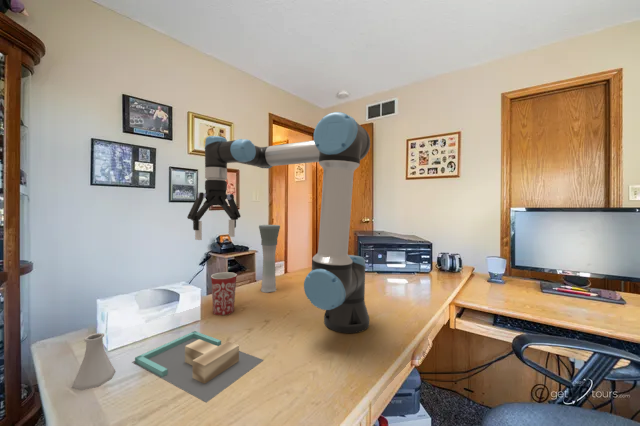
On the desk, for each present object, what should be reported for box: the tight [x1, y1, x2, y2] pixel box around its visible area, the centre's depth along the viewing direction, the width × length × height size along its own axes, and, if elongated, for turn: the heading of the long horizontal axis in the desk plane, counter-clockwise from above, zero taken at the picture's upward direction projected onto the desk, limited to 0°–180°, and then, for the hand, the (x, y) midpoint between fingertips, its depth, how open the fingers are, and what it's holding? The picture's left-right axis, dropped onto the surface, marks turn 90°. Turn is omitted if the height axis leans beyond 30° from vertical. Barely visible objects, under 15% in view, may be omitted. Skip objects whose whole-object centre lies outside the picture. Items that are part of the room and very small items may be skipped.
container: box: [258, 224, 281, 293], centre depth 125 cm, size 10×10×30 cm
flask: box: [71, 332, 117, 391], centre depth 59 cm, size 7×7×10 cm
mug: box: [210, 271, 238, 316], centre depth 101 cm, size 13×9×14 cm
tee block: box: [185, 339, 240, 384], centre depth 65 cm, size 11×10×4 cm
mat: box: [131, 330, 264, 403], centre depth 67 cm, size 27×17×2 cm, turn 61°
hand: (215, 238), depth 99 cm, fingers open, 13 cm apart
